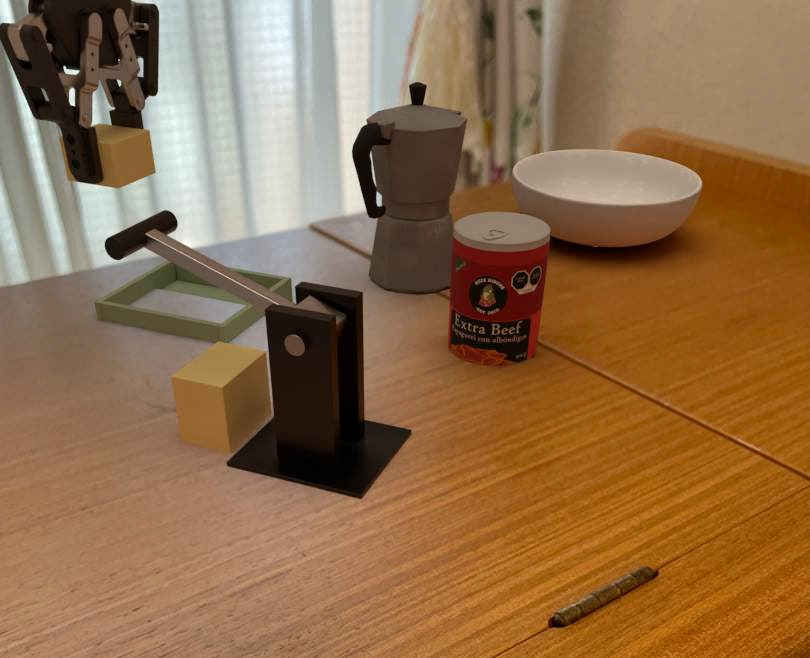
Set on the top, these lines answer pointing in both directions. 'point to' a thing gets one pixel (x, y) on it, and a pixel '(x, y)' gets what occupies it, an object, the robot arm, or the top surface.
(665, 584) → the top surface
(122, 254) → the lever
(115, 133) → the butter pat
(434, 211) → the coffeepot
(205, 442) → the butter
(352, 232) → the top surface
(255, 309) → the dish
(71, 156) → the robot arm
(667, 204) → the serving bowl
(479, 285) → the canned food
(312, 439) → the lever stand
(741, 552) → the top surface
